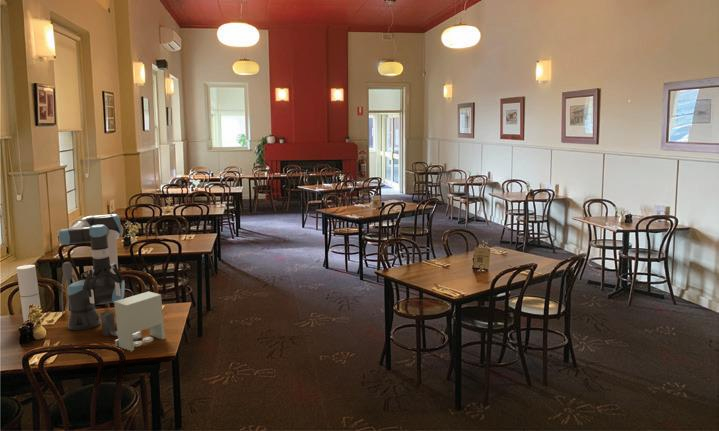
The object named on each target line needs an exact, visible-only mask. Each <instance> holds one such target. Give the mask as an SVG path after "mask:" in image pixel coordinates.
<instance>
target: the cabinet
mask: <svg viewBox="0 0 719 431" xmlns="http://www.w3.org/2000/svg"><path fill="white" fill-rule="evenodd" d="M113 304H114V314H115V324H116V331H117V332H118V336H117V339H118V341H119V346H118V347H119V348H121V349H124V350H126V349H127V351H129V350H130V351H129V352H133V350H134V351H135V347H134V343H133V342H134V341H133V333H136V332H139V331H140V332H142V331H143V330H144V331H145V330H147V329H148V330H149V336H150V337H153V338H156V339H159V340H165V339H166V333H165V332H166V331H165V322H164V314H163V312H164V311H163V303H162V294H160V293H156V292H152V291H149V290H148V291H145V292H142V293H138V294H135V295H131V296H129V297H125V298H123V299H121V300H118V301H114V303H113Z"/></svg>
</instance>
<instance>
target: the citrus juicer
mask: <svg viewBox="0 0 719 431" xmlns="http://www.w3.org/2000/svg"><path fill="white" fill-rule="evenodd" d="M61 269H62V273H63V274H62V279H61V290H60V291H61V293H60V294H61V298H60V299H61V301H60V302H61V314H64V315H65V313H64V285H65V280H66V282H67V287H68V286H69V285H70V284H71V283H72V282H71V281H72V279H73V280H74V282H77V281H78V279H77V276H76V275H75V273H73V265H72V263H71V262H70V261H66V262H63V263H62V268H61Z"/></svg>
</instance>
